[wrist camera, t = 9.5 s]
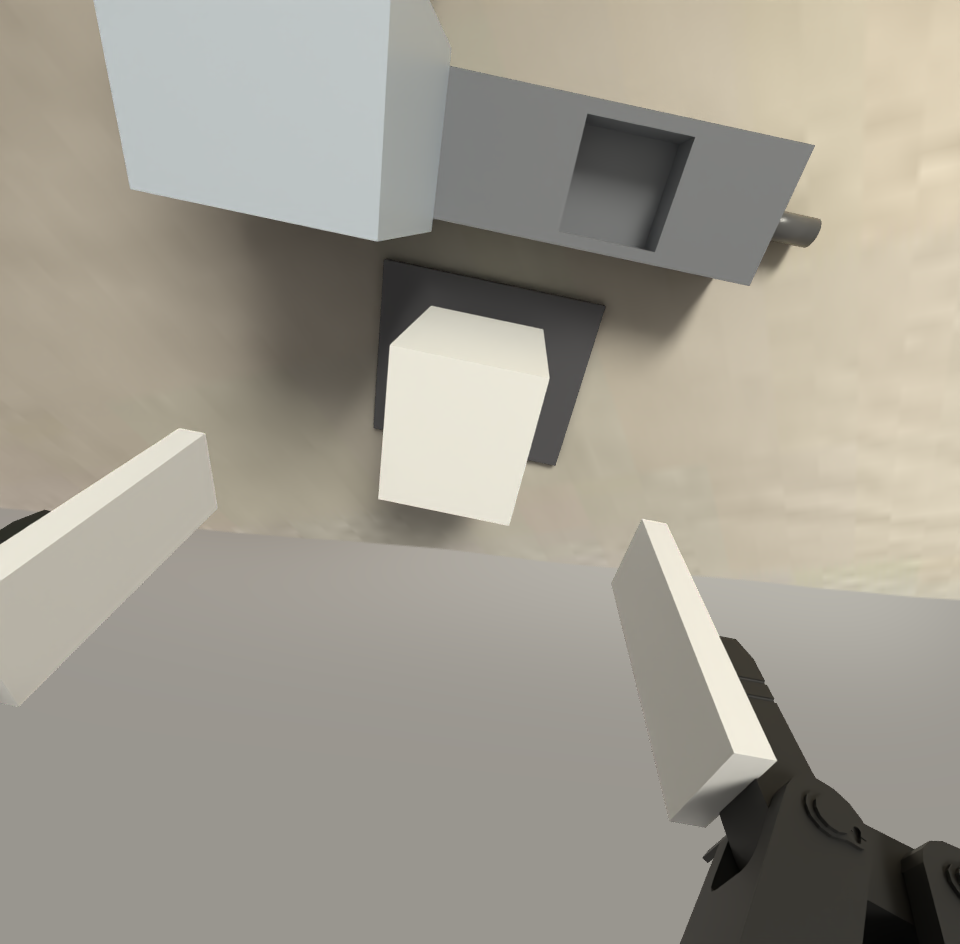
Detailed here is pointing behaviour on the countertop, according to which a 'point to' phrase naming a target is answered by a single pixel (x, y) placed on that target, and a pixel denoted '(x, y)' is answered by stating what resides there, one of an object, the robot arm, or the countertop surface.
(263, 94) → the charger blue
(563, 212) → the power strip
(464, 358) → the block
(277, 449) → the countertop surface
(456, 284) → the mat
